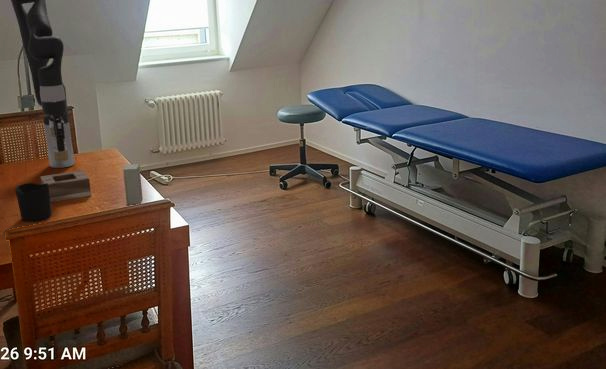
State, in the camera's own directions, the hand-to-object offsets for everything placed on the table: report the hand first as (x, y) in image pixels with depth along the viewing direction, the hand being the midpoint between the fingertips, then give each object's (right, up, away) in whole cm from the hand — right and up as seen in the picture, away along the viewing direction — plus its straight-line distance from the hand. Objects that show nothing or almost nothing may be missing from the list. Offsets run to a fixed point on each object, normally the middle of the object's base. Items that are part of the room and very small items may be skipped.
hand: (60, 149), depth 212 cm
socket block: (0, -15, +5) cm, 16 cm away
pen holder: (-1, -22, -17) cm, 28 cm away
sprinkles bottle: (0, -4, +1) cm, 4 cm away
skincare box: (+26, -18, -5) cm, 32 cm away
